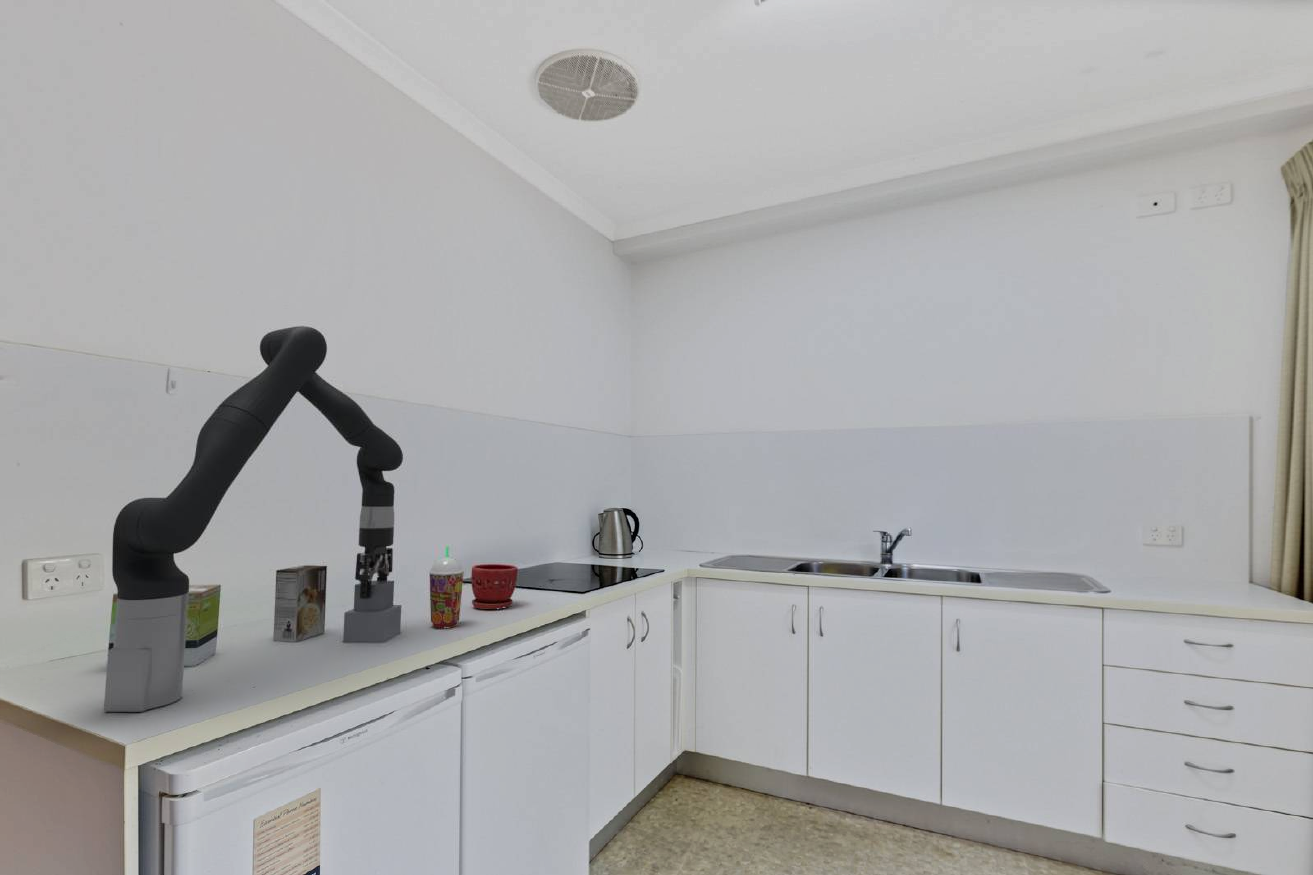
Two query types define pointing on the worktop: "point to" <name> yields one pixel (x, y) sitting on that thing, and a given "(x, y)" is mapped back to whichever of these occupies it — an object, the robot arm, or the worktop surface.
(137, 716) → the worktop surface
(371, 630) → the stepped grey block
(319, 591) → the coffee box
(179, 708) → the worktop surface
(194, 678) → the worktop surface
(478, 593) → the plant pot
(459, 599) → the smoothie
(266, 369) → the robot arm
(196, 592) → the tea box
